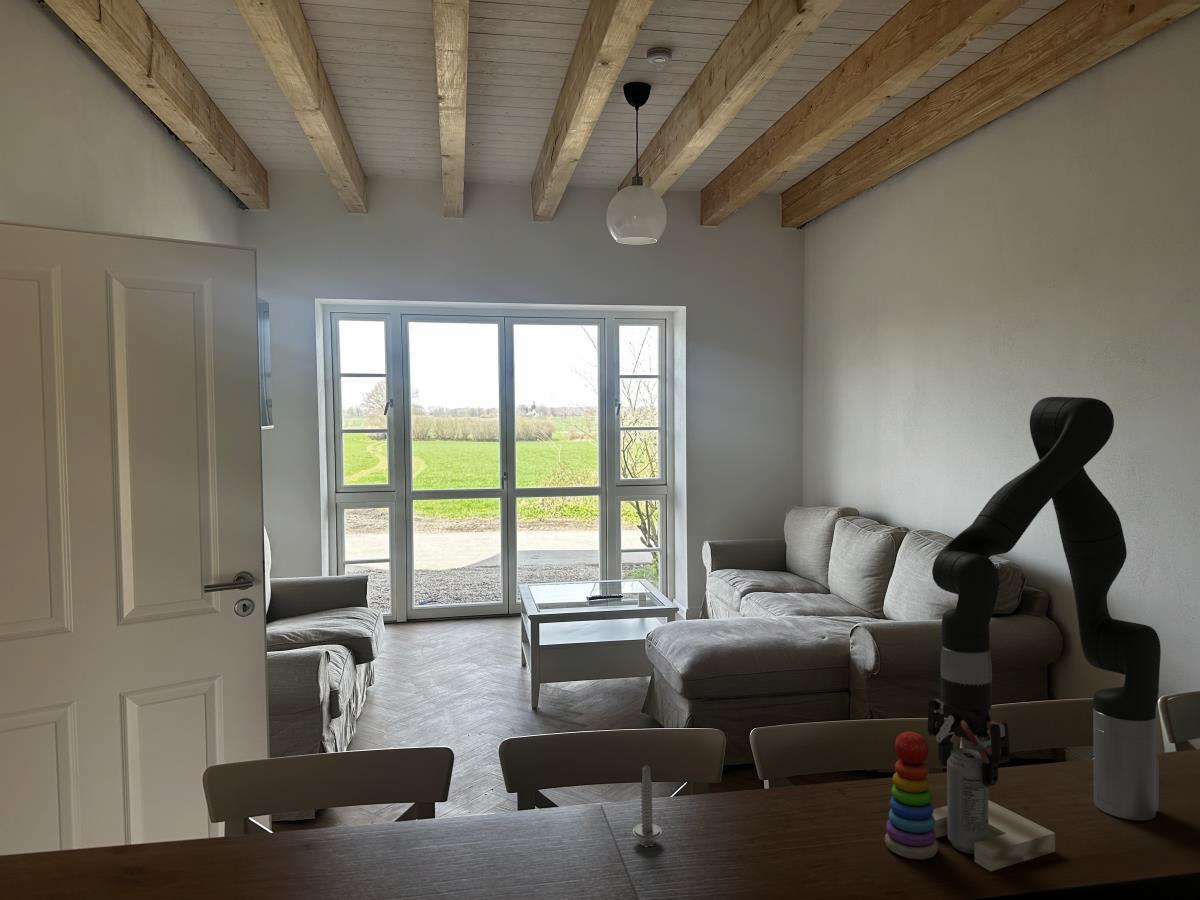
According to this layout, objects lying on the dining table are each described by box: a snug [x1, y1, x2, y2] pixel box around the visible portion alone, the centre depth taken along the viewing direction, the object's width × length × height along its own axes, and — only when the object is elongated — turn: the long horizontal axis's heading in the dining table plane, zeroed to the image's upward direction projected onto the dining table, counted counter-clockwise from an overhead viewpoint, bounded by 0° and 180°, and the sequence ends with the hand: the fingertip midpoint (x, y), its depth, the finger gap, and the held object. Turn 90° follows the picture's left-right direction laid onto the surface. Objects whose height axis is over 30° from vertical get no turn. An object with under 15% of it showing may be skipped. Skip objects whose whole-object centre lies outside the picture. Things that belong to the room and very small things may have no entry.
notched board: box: [932, 799, 1056, 872], centre depth 130 cm, size 14×14×3 cm
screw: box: [632, 765, 663, 846], centre depth 131 cm, size 13×5×5 cm
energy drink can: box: [946, 747, 989, 855], centre depth 128 cm, size 6×6×15 cm
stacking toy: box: [884, 730, 939, 860], centre depth 128 cm, size 8×8×19 cm
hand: (967, 774), depth 129 cm, fingers open, 8 cm apart
